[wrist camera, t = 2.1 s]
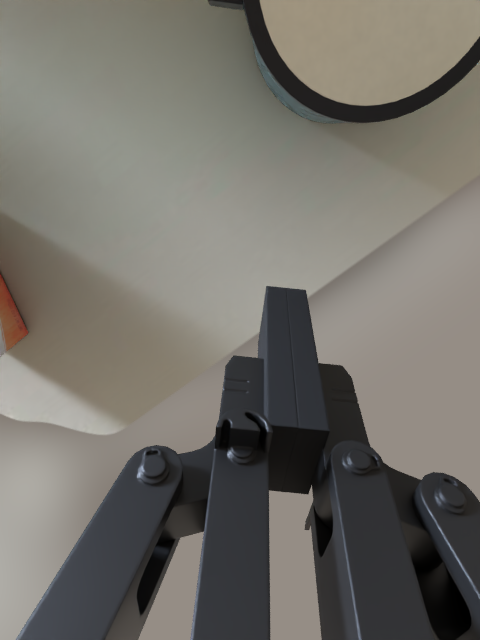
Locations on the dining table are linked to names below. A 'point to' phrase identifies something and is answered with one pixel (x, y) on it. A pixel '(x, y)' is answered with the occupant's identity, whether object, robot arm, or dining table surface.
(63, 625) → the robot arm
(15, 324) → the cracker box
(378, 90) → the pot
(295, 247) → the dining table surface
